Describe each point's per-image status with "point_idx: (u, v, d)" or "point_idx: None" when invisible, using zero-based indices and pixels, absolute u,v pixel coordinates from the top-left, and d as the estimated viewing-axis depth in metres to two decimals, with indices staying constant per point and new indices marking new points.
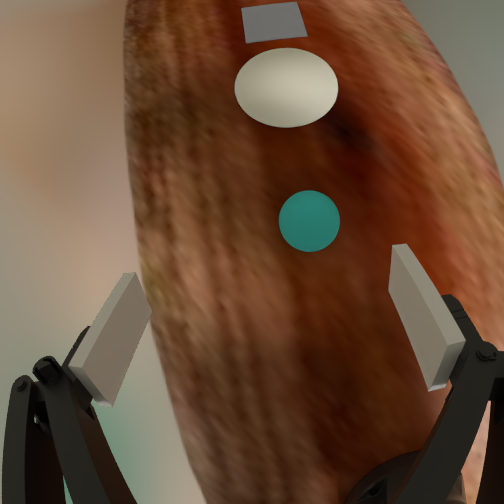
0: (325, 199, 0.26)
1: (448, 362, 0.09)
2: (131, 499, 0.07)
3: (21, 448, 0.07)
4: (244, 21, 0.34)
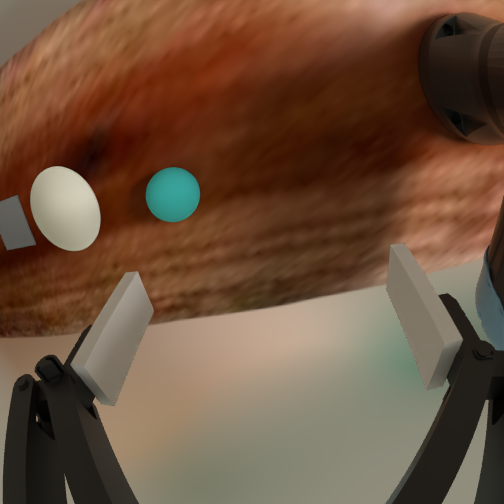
0: (150, 189, 0.28)
1: (445, 361, 0.09)
2: (132, 498, 0.07)
3: (23, 448, 0.07)
4: (18, 246, 0.38)
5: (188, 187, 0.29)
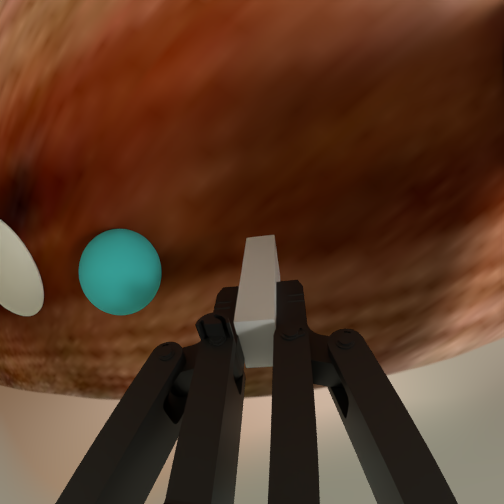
0: (81, 271, 0.17)
1: (266, 339, 0.12)
2: (231, 493, 0.07)
3: (131, 431, 0.08)
4: None
5: (137, 269, 0.17)
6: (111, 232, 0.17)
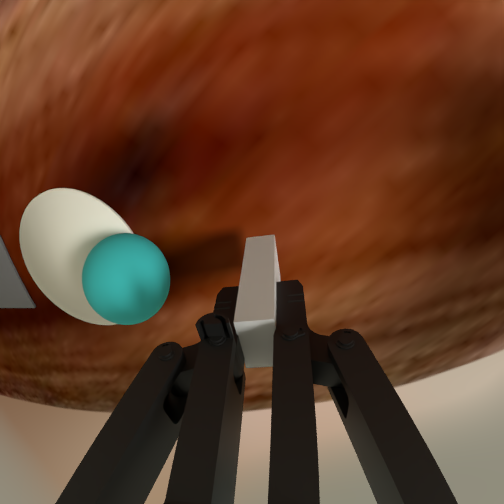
0: (153, 251, 0.17)
1: (266, 339, 0.12)
2: (231, 493, 0.07)
3: (131, 431, 0.08)
4: (8, 306, 0.24)
5: None
6: (105, 238, 0.17)
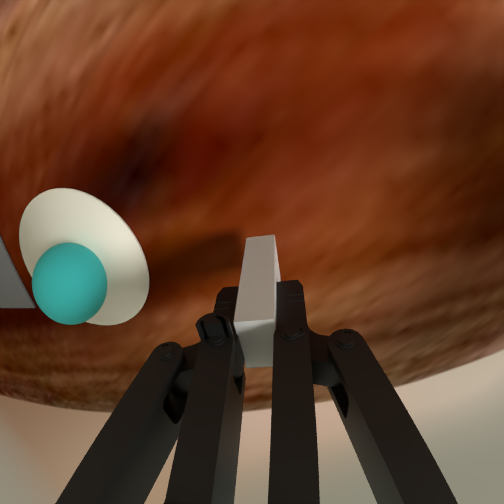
0: (42, 286, 0.16)
1: (266, 339, 0.12)
2: (231, 493, 0.07)
3: (131, 431, 0.08)
4: (8, 306, 0.24)
5: (94, 268, 0.18)
6: (58, 245, 0.17)
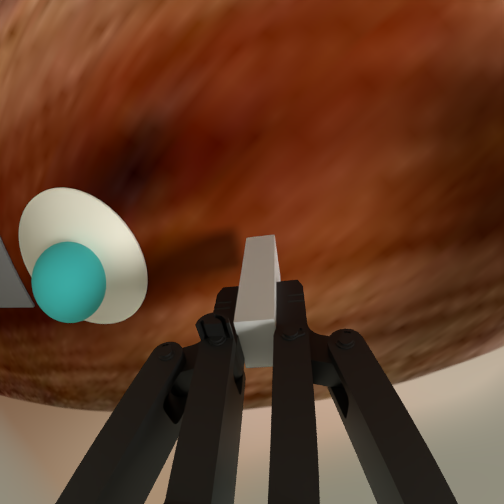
0: (41, 285, 0.16)
1: (266, 339, 0.12)
2: (231, 493, 0.07)
3: (131, 431, 0.08)
4: (7, 306, 0.24)
5: (93, 267, 0.18)
6: (57, 244, 0.17)
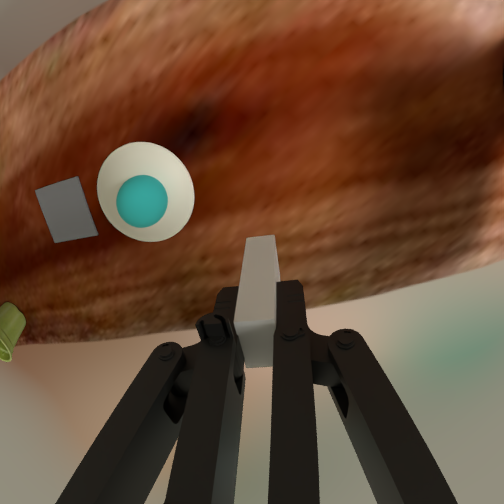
0: (129, 196, 0.28)
1: (266, 339, 0.12)
2: (231, 493, 0.07)
3: (131, 431, 0.08)
4: (71, 238, 0.37)
5: (162, 188, 0.30)
6: (138, 175, 0.30)
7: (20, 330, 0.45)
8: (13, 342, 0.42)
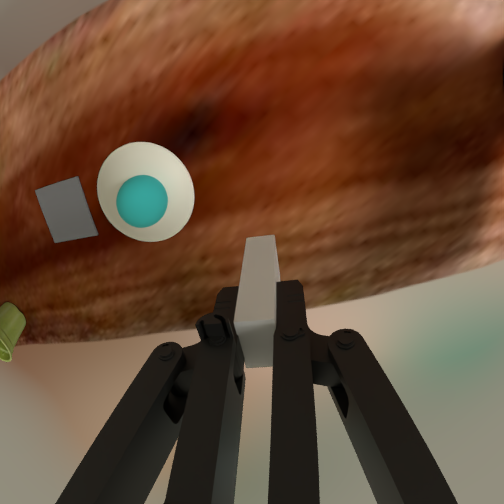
0: (129, 196, 0.28)
1: (266, 339, 0.12)
2: (231, 493, 0.07)
3: (131, 431, 0.08)
4: (71, 238, 0.37)
5: (162, 188, 0.30)
6: (138, 175, 0.30)
7: (20, 330, 0.45)
8: (13, 342, 0.42)
